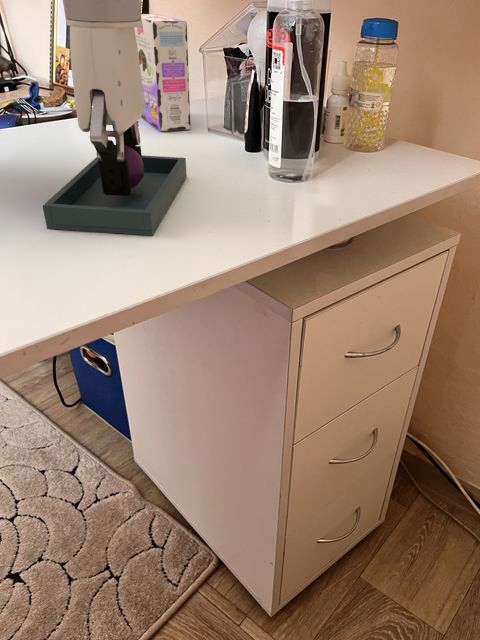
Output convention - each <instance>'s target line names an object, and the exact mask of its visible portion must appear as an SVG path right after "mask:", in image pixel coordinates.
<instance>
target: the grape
mask: <svg viewBox="0 0 480 640" xmlns="http://www.w3.org/2000/svg"><path fill="white" fill-rule="evenodd" d="M115 147H116V146H115ZM124 160H128V167H129V176H130V185H131V188H133V187H135V186H137V185H138V184H139V183H140V181H141V180H142V178H143V174H144V164H143V161H142V158H141V157H140V155H139V154H138V153H137V152H136V151H135V150H134V149H132V148H130V147H128V146H124Z"/></svg>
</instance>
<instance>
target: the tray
mask: <svg viewBox="0 0 480 640" xmlns="http://www.w3.org/2000/svg"><path fill="white" fill-rule="evenodd" d="M142 161H143V164H144V174H143V175H144V177H143V179H142V180H141V181H140V183H139V184H138V185H137V186H135V187H133V188H131V194H130V195H129V196H117V195H105V194H104V193H103V188H102V182H101V175H100V168H99V161H98V160H97V156H96V157H95V158H93V159H92V160H91V162H89V163H88V164H87V165H86V166H85V167H84V168H82V169H81V170H80V171H79V172H77V174H76V175H74V177H73V178H71V179H70V181H68V182H67V183H66V184H65V185H64V186H63V187H61V188H60V189H59V190H58V191H57V192H56V193H54V194H53V196H51V197H50V198H49V199H48V200H47V201H46V202H45V203H44V204H43V205H42V210H43V216H44V220H45V224H46V228H47V229H48V230H59V231H60V230H61V231H74V232H77V231H78V232H91V233H108V234H121V235H137V236H150V237H151V236H152V237H153V236H154V234H155V233H156V230H157V229H158V227H159V225H160V223H161V222H162V220H163V218H164V217H165V215H166V213H167V212H168V210H169V208H170V206H171V205H172V203H173V201H174V200H175V198H176V196H177V195H178V193H179V191H180V189H181V188H182V186H183V184H184V182H185V181H186V179H187V177H188V176H187V159H186V157H175V156H157V155H143V154H142Z"/></svg>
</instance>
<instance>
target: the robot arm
mask: <svg viewBox="0 0 480 640" xmlns="http://www.w3.org/2000/svg"><path fill="white" fill-rule="evenodd" d="M62 4H63V11H64V16H65V24H66V26H69V51H70V52H69V53H70V54H69V55H70V67H71V76H72V85H73V95H74V103H75V104H74V105H75V112H76V118H77V125H78V128H79V129H80V130H81V131H82V132H83V133H89V141H90V143H91V144H92V145H93V147H94V149H95V151H96V157H97V160H98V161H99V168H100V175H101V182H102V188H103V193H104V194H105V195H117V196H129V195H130V194H131V185H130V176H129V167H128V160H124V146H128V147H130V148H132V149H134V150H135V151H136V152H137V153H138V154H139V155H140V157H141V158H142V155H143V154H142V146H141V135H140V129H139V126H140V125H139V120H140V119H141V118H142V117H141V116H142V114H143V90H142V79H141V70H140V63H139V55H138V48H137V41H136V35H135V29H134V27H140V26H142V20H141V14H142V9H141V8H142V7H141V0H62ZM107 126H112V130H107ZM109 138H114V140H115V143H114V141H113V140H112V139H109ZM115 146H116V147H115ZM143 177H144V175H143ZM142 179H143V178H142Z"/></svg>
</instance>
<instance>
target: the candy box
mask: <svg viewBox="0 0 480 640" xmlns="http://www.w3.org/2000/svg"><path fill="white" fill-rule="evenodd" d="M141 20H142V26H140V27H134V29H135V35H136V41H137V48H138V55H139V63H140V70H141V79H142V90H143V114H142V116H141V117H140V118H141V119H143V120H145V121H146V122H147V123H149V124H151V125H152V127H155V128H156V130H159V131H160V132H167V131H168V132H170V131H171V132H172V131H181V130H182V131H185V130H191V127H192V126H191V124H192V123H191V105H190V82H189V81H190V80H189V79H190V78H189V75H190V74H189V47H188V46H189V44H188V43H189V42H188V21H187V20H182V19H177V18H174V17H170V16H167V15H162V14H157V13H141Z"/></svg>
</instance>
